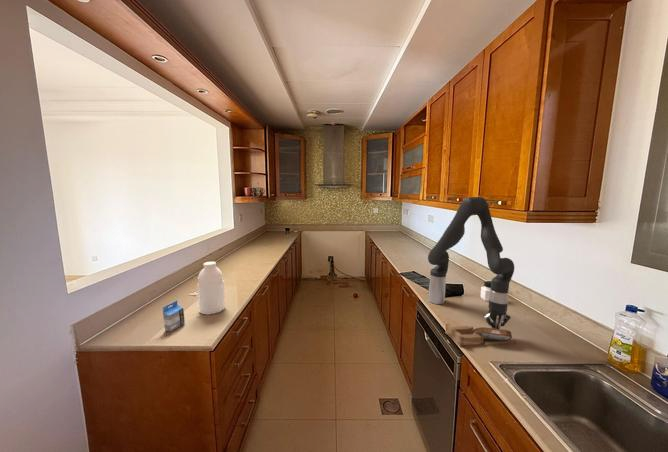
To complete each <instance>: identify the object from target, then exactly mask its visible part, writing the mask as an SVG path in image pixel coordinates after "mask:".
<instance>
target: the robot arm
mask: <svg viewBox="0 0 668 452" xmlns="http://www.w3.org/2000/svg"><path fill="white" fill-rule="evenodd" d="M471 216H477V217H478V219H479V221H480V225H481V226H480V227H481V228H480V239H481V243H482V245H483V247H484V250H485V252H486V259H487V260H486V261H487V265H488V268H489V270H490V271H491V272H492V273H493V274H495V276H494V277H493V278H491V280H490V281H491V290H490V294H489V301H488V306H487V307H488V309H489V310H488V311H487V314H486V315H483V319H484V320H485V322H486V323H487V324H488V325H489V326H490V328H495V329H501V327H504V326H505V325H506V324H507V323H508V322H509V320H510V319H511V316H510V315H509V314H507V311H508V306H509V305H508V304H509V289H510V283H511V280H512V278H513V276H514V272H515V263H514V261H513V260H512V259H511V258H509V257H502V258H501V255H500V254H501V253H502V252H503V251H504V248H503V245H502V243H501V241H500V239H499V237H498V235H497V231H496V230H495V226H494V223H493V218H492V215H491V211H490V206H489V204H488V201H487V200H486V198H485V197H482V196H469V197H465V198H464V199H463V200H462V201H461V202H460V204H459V207H458V209H457V210H456V213H455V214H454V216H453V218H452V220H451V221H450V223H449V224H448V227H446V229H445V230H444V232H443V233H442V235H441V237H440V238H439V240H438V241H437V243H436V244H435V245H434V246H433V247H432V249H431V250H430V251H429V252H428V256H427V260H428V263H429V264H430V265H433V266H435V267H433V268H431V269H430V275H429V285H428V286H429V287H428V301H429V302H430V303H432V304H435V305H443V304H445V300H446V298H445V297H446V284H447V283H446V282H447V273H448V270H449V262H450V261H449V260H450V256H449V252H448V250H449V249H452V248H453V247H455V246H456V245H457V244H458V243H459V242H460V241H461V240H462V239H463V237H464V235H465V233H466V232H465V231H466V230H465V224H466V222H468V220H469V218H470V217H471Z"/></svg>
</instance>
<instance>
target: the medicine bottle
mask: <svg viewBox="0 0 668 452" xmlns="http://www.w3.org/2000/svg"><path fill="white" fill-rule="evenodd" d="M491 281H492V280H484V282H483V286H481V288H480V298H481V299H482V300H483V301H484V302H489V294H490V290H491Z"/></svg>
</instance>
